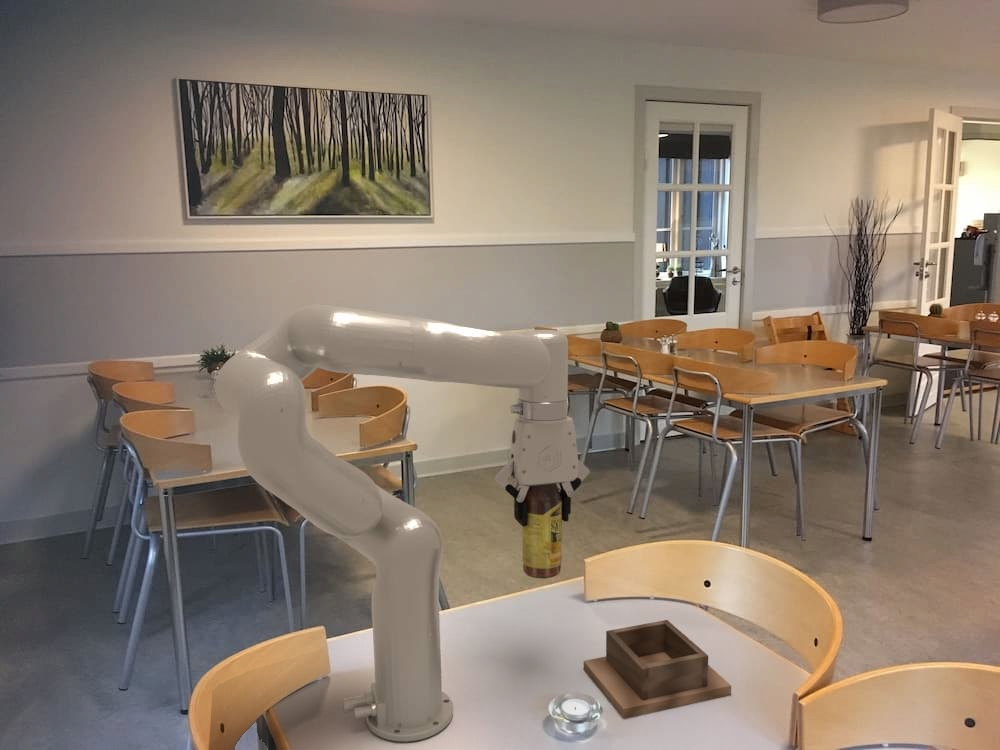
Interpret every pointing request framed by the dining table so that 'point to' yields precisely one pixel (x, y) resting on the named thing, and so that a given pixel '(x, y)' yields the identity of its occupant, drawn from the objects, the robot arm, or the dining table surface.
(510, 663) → the dining table surface
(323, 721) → the dining table surface
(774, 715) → the dining table surface
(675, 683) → the condiment caddy
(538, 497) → the sauce bottle
